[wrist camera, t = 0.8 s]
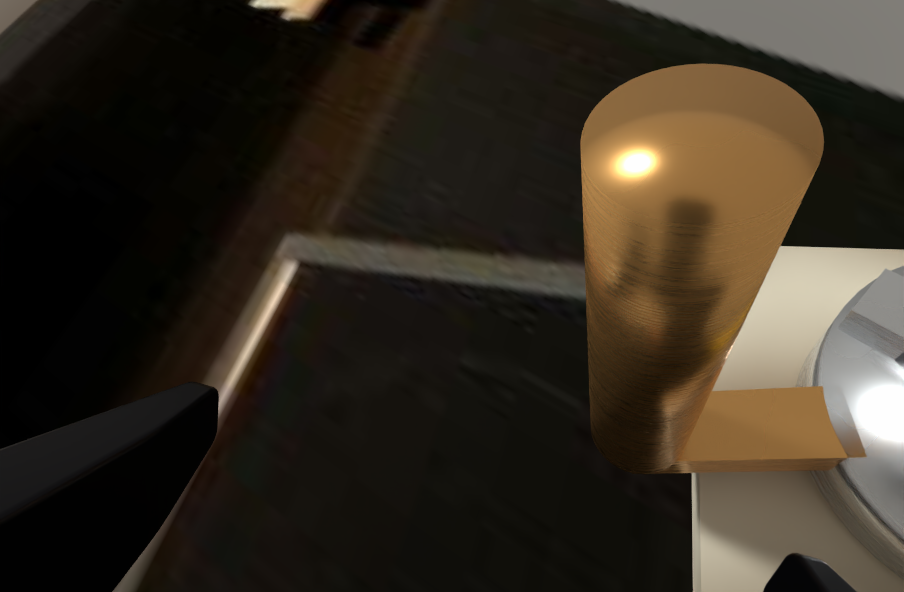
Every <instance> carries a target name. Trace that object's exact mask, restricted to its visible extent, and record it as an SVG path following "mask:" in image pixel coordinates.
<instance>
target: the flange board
mask: <svg viewBox="0 0 904 592" xmlns="http://www.w3.org/2000/svg"><path fill="white" fill-rule="evenodd" d="M902 266H904V250H891V249H857V248H822V247H788V246H780V248H779V250H778V252H777V254H776V256H775V258H774V260H773V262H772V264H771V267H770V269H769V271H768V273H767V275H766V277H765V279H764V281H763V284H762V286H761V288H760V290H759V292H758V294H757V296H756V298H755V301H754V303H753V305H752V307H751V309H750V311H749V313H748V315H747V317H746V320H745V322H744V324H743V326H742V328H741V330H740V332H739V334H738V337H737V339H736V341H735V343H734V345H733V347H732V349H731V351H730V354H729V356H728V358H727V360H726V362H725V364H724V366H723V368H722V370H721V373H720V375H719V377H718V379H717V381H716V383H715V385H714V387H713V390H712V391H726V390H748V389H769V388H791V387H796V384H797V380H798V376H799V373H800V371H801V368H802V366H803V364H804V362H805V360H806V358H807V356H808V355H809V353H810V352H811V350H812V349H813V347H814V346H815V345H816V343H817V342H818V341H819V339H820V338H821V337H822V335H823V334H824V333H825V331H826V330H827V329H828V327H829V326H830V325H831V323H832V322H833V321H834V319H835V318H836V317H837V315H838V314H839V313H840V311H841V310H842V309H843V307H844V306H845V305H846V304H847V303H848V302H849V301H850V300H851V299H852V298H853V297H854V296H855V295H856V294H857V293H858V291H860V290H861V289H862V288H864V287H865V286H866V285H868V284H869V283H871V282H872V281H873V280H875V279H876V278H878V277H879V276H880V274H881V273H882V272H883V271H884V270H885V268H886V269H888V270H890V271H892V270H893V269H896V268H899V267H902ZM692 542H693V592H763V590H764V587H765V585H766V584H767V582H768V581H769V579H770V578H771V577H772V575H773V574H774V572H775V571H776V570H777V568H778V567H779V565H780V564H781V563H782V561H783V560H784V558H785V557H786V556H787V555H789V554H791V553H800V554H804V555H807V556H811V557H814V558H817V559H820V560H822V561H824V562H825V563H826V564H827V565H829V566H830V567H831V568H832V569H833V570H834V571H835V572H836V573H837V574H838V575H839V576H841V577H842V578H843V579H844V580H845V581H846V582H847V583H848V584H849V585H850V586H851V587H852V588H854V589H855V590H856V591H857V592H904V580H903V579H902V578H900V577H899V576H898V575H896V574H895V573H894V572H893V571H891V570H890V569H889V568H888V567H886V566H885V565H884V564H883V563H882V562H880V561H879V560H878V559H877V558H875V557H874V556H873V555H872V554H871V553H870V552H869V551H868V550H867V549H866V548H865V547H864V546H863V545H862V544H861V543H860V542H859V541H858V540H857V539H856V538H855V537H854V536H853V535H852V534H851V533H850V532H849V531H848V529H847V528H846V527H845V526H844V525H843V523H842V522H841V521H840V520H839V519H838V517H837V516H836V515H835V514H834V513H833V511H832V510H831V508H830V507H829V505H828V504H827V502H826V501H825V499H824V498H823V496H822V495H821V493H820V492H819V490H818V488H817V486H816V484H815V482H814V480H813V479H812V477H811V475H810V473H809V471H765V472H706V473H692Z"/></svg>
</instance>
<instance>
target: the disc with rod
mask: <svg viewBox="0 0 904 592" xmlns="http://www.w3.org/2000/svg"><path fill="white" fill-rule="evenodd" d="M823 145H824V137H823V130H822V127H821V124H820V121H819V118H818V117H817V115H816V113H815V112H814V110H813V108H812V107H811V106H810V105H809V103H808V102H807V101H806V100H805V99H804V98H803V97H802V96H801V95H800V94H798V93H797V92H796V91H795V90H793V89H792V88H790V87H789V86H787V85H786V84H784V83H782V82H780V81H778V80H777V79H775V78H773V77H770V76H768V75H765V74H762V73H760V72H756V71H753V70H749V69H746V68H741V67H735V66H729V65H720V64H690V65H681V66H674V67H669V68H664V69H660V70H656V71H653V72H650V73H647V74H644V75H642V76H639V77H636V78H634V79H632V80H630V81H628V82H626V83H624V84H623V85H621V86H619V87H618V88H616V89H615V90H613V91H612V92H611V93H609V94H608V95H607V96H606V97H604V98H603V99H602V100H601V101H600V102H599V103H598V105H597V106H596V107H595V108H594V110H593V111H592V112H591V114H590V115H589V117H588V119H587V121H586V123H585V125H584V128H583V131H582V136H581V168H582V196H583V224H584V251H585V279H586V307H587V334H588V362H589V390H590V417H591V432H592V437H593V440H594V442H595V444H596V446H597V448H598V450H599V451H600V452H601V454H602V455H603V456H604V457H605V458H606V459H607V460H608V461H609V462H611V463H612V464H613V465H615V466H616V467H618V468H620V469H622V470H625V471H628V472H631V473H632V474H652V473H706V472H765V471H809V473H810V475H811V477H812V479H813V480H814V482H815V484H816V486H817V488H818V490H819V492H820V493H821V495H822V496H823V498H824V499H825V501H826V502H827V504H828V505H829V507H830V508H831V510H832V511H833V513H834V514H835V515H836V516H837V517H838V519H839V520H840V521H841V522H842V523H843V525H844V526H845V527H846V528H847V529H848V531H849V532H850V533H851V534H852V535H853V536H854V537H855V538H856V539H857V540H858V541H859V542H860V543H861V544H862V545H863V546H864V547H865V548H866V549H867V550H868V551H869V552H870V553H871V554H872V555H873V556H874V557H875V558H877V559H878V560H879V561H880V562H882V563H883V564H884V565H885V566H886V567H888V568H889V569H890V570H891V571H893V572H894V573H895V574H896V575H898V576H899V577H900V578H902V579H903V580H904V266H902V267H899V268H896V269H893V270H892V271H890V270H888V269H886V268H885V270H884V271H883V272H882V273H881V274H880V276H879V277H878V278H876V279H875V280H873V281H872V282H871V283H869V284H868V285H866V286H865V287H864V288H862V289H861V290H860V291H858V293H857V294H856V295H855V296H854V297H853V298H852V299H851V300H850V301H849V302H848V303H847V304H846V305H845V306H844V307H843V309H842V310H841V311H840V313H839V314H838V315H837V317H836V318H835V319H834V321H833V322H832V323H831V325H830V326H829V327H828V329H827V330H826V331H825V333H824V334H823V335H822V337H821V338H820V339H819V341H818V342H817V343H816V345H815V346H814V347H813V349H812V350H811V352H810V353H809V355H808V356H807V358H806V360H805V362H804V364H803V366H802V368H801V371H800V373H799V376H798V380H797V384H796V387H791V388H769V389H748V390H726V391H712V390H713V387H714V385H715V383H716V381H717V379H718V377H719V375H720V373H721V370H722V368H723V366H724V364H725V362H726V360H727V358H728V356H729V354H730V351H731V349H732V347H733V345H734V343H735V341H736V339H737V337H738V334H739V332H740V330H741V328H742V326H743V324H744V322H745V320H746V317H747V315H748V313H749V311H750V309H751V307H752V305H753V303H754V301H755V298H756V296H757V294H758V292H759V290H760V288H761V286H762V284H763V281H764V279H765V277H766V275H767V273H768V271H769V269H770V267H771V264H772V262H773V260H774V258H775V256H776V254H777V252H778V250H779V248H780V245H781V243H782V241H783V239H784V237H785V235H786V233H787V231H788V228H789V226H790V224H791V222H792V220H793V218H794V216H795V214H796V211H797V209H798V207H799V205H800V203H801V201H802V199H803V197H804V195H805V192H806V190H807V188H808V186H809V184H810V182H811V180H812V178H813V175H814V173H815V171H816V169H817V167H818V165H819V163H820V160H821V156H822V153H823Z"/></svg>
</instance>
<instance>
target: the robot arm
mask: <svg viewBox="0 0 904 592" xmlns="http://www.w3.org/2000/svg"><path fill="white" fill-rule="evenodd" d="M218 401H219V396H218V391H217V390H216V389H215V388H214V387H211V386H208V385H204V384H201V383H197V382H188V383H185V384H182V385H179V386H176V387H174V388H171V389H168V390H165V391H162V392H160V393H157V394H154V395H151V396H148V397H146V398H143V399H140V400H137V401H134V402H132V403H129V404H126V405H123V406H120V407H118V408H115V409H112V410H109V411H106V412H104V413H101V414H98V415H95V416H92V417H89V418H87V419H84V420H81V421H78V422H75V423H73V424H70V425H67V426H64V427H61V428H59V429H56V430H53V431H50V432H47V433H45V434H42V435H39V436H36V437H33V438H31V439H28V440H25V441H22V442H19V443H17V444H14V445H11V446H8V447H5V448H2V449H0V592H112V591H113V590H114V589H115V587H116V586H117V585H118V584H119V582H120V581H121V580H122V578H123V577H124V576H125V574H126V573H127V572H128V570H129V569H130V568H131V567H132V565H133V564H134V563H135V561H136V560H137V559H138V557H139V556H140V555H141V553H142V552H143V551H144V550H145V548H146V547H147V546H148V544H149V543H150V542H151V540H152V539H153V537H154V536H155V535H156V533H157V532H158V531H159V529H160V528H161V526H162V524H163V523H164V521H165V520H166V518H167V517H168V515H169V514H170V512H171V510H172V509H173V507H174V505H175V504H176V502H177V501H178V499H179V497H180V496H181V494H182V492H183V491H184V489H185V487H186V486H187V484H188V483H189V481H190V479H191V478H192V476H193V474H194V473H195V471H196V470H197V468H198V466H199V465H200V463H201V461H202V460H203V458H204V457H205V455H206V453H207V452H208V450H209V448H210V447H211V445H212V443H213V441H214V439H215V436H216V433H217V424H218ZM763 592H857V591H856V590H855V589H854V588H852V587H851V586H850V585H849V584H848V583H847V582H846V581H845V580H844V579H843V578H842V577H841V576H839V575H838V574H837V573H836V572H835V571H834V570H833V569H832V568H831V567H830V566H829V565H827V564H826V563H825V562H824V561H822V560H820V559H817V558H814V557H811V556H807V555H804V554H800V553H791V554H789V555H787V556H786V557H785V558H784V560H783V561H782V563H781V564H780V565H779V567H778V568H777V570H776V571H775V572H774V574H773V575H772V577H771V578H770V579H769V581H768V582H767V584H766V585H765V587H764V590H763Z"/></svg>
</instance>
